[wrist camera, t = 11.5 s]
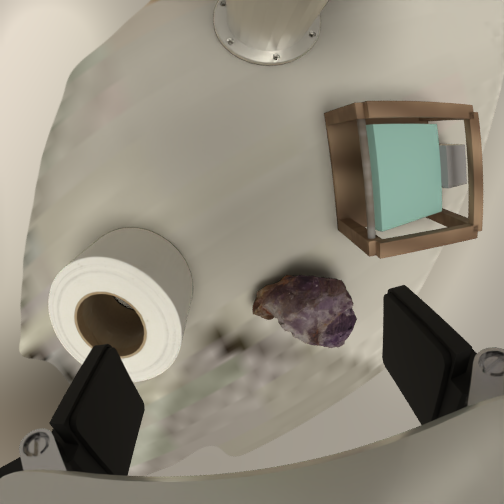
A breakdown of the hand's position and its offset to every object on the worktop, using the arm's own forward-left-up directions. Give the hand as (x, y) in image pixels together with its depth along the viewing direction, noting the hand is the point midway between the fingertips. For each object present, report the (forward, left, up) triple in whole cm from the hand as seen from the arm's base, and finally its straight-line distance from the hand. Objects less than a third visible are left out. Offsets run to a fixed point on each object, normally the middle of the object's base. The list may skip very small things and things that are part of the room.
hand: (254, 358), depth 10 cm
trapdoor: (-2, +18, -22) cm, 29 cm away
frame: (-2, +19, -29) cm, 34 cm away
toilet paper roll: (+8, -15, -29) cm, 33 cm away
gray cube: (-2, +23, -24) cm, 34 cm away
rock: (+13, +6, -29) cm, 32 cm away
